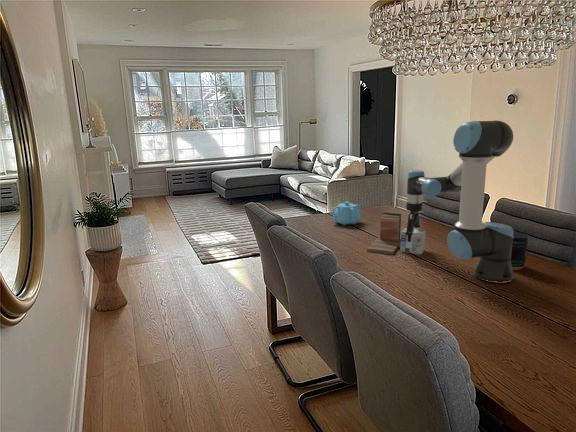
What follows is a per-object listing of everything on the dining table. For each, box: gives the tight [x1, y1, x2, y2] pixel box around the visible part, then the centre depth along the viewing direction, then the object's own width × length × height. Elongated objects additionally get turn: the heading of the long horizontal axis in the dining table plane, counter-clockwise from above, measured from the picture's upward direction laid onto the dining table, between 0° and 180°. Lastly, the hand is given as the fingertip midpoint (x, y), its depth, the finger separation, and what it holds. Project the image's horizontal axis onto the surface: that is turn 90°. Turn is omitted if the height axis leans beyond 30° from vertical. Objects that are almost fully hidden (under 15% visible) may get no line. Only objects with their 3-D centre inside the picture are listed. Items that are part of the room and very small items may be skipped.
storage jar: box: [511, 231, 529, 267], centre depth 197 cm, size 10×10×15 cm
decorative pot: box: [331, 201, 362, 226], centre depth 275 cm, size 16×16×14 cm
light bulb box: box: [399, 227, 426, 255], centre depth 221 cm, size 11×7×11 cm, turn 62°
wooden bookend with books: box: [366, 211, 402, 256], centre depth 228 cm, size 22×13×16 cm, turn 153°
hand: (412, 243), depth 222 cm, fingers open, 13 cm apart
